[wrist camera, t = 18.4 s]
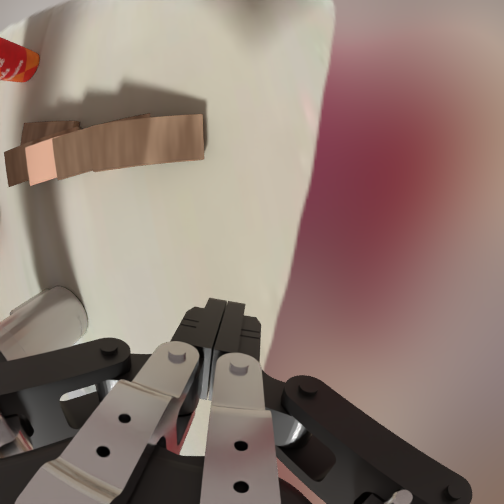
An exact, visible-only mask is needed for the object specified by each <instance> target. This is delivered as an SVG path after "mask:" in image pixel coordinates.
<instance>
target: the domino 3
mask: <svg viewBox="0 0 504 504" xmlns="http://www.w3.org/2000/svg"><path fill="white" fill-rule="evenodd" d="M74 132H75V131H74ZM67 134H68V133H67ZM64 135H65V134H64ZM61 136H62V135H61ZM57 137H59V136H57ZM54 138H56V137H54ZM52 139H53V138H51V139H48V140H45V141H42V142H39V143H37V144H34V145H31V146H28V147H26V148H25V151H26V160H27V168H28V175H29V181H30V186H32V185H35V184H38V183H41V182H44V181H47V180H50V179H54V178H57V173H56V166H55V159H54V152H53V143H52Z"/></svg>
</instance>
